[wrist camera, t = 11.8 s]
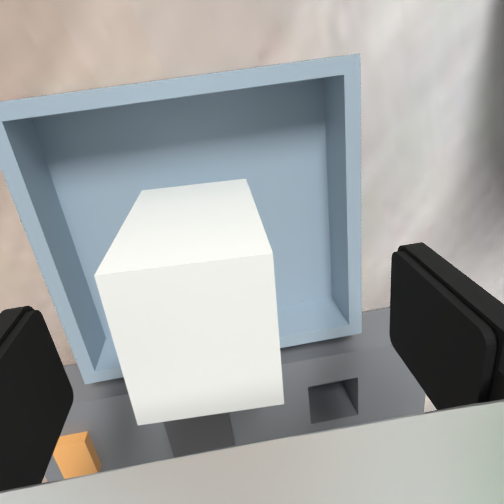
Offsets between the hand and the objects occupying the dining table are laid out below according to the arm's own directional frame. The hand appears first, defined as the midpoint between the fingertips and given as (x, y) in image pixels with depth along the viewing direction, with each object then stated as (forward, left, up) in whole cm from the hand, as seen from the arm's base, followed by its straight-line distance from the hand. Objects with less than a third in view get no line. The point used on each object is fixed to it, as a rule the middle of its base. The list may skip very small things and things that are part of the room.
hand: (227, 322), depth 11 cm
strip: (0, +10, -9) cm, 13 cm away
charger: (0, 0, -8) cm, 8 cm away
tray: (0, 0, -9) cm, 9 cm away
